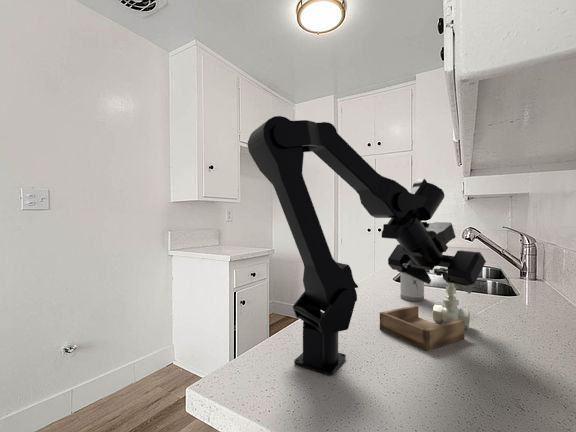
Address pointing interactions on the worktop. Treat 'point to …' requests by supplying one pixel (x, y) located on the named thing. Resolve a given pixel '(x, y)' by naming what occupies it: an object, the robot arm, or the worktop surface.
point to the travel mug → (411, 288)
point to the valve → (449, 304)
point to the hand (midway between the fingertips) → (448, 286)
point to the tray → (420, 328)
